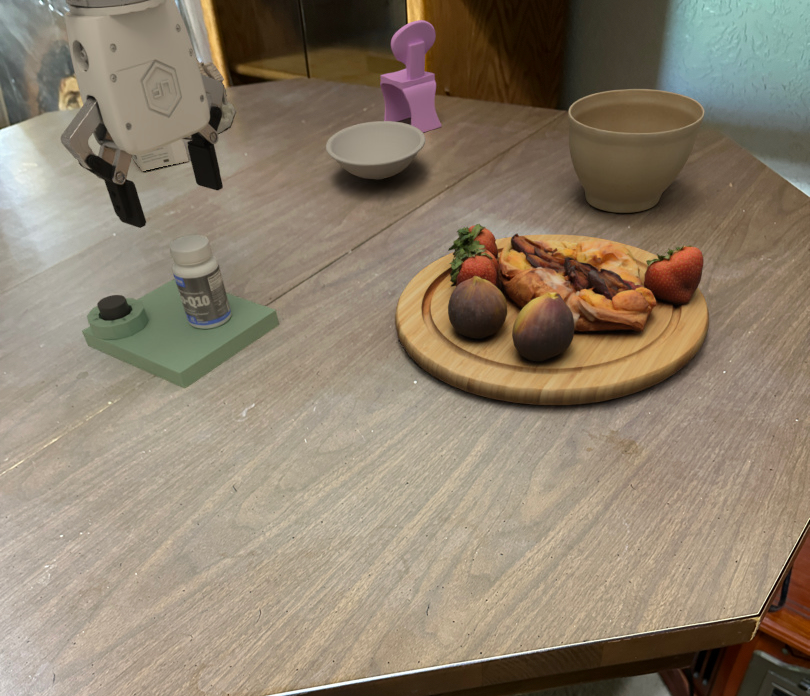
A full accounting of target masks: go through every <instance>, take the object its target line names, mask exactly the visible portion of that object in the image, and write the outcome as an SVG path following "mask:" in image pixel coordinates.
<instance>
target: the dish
mask: <svg viewBox="0 0 810 696" xmlns="http://www.w3.org/2000/svg"><path fill="white" fill-rule="evenodd" d="M425 144H426V136H425V134H424V132H422V131H421V130H419V129H418V128H416V127H414V126H412V125H411V124H408V123H404V122H400V121H397V122H392V121H384V120H381V121H380V120H379V121H378V120H377V121H368V122H362V123H357V124H354V125H350V126H347V127H345V128H343V129H340V130H339V131H337V132H335V133H333V135H331V136H330V137H329V138H328V140H327V141H326V144H325V150H326V153H327V155H329V157H330V158H332V159H333V160H335V161H336V163H338V165H340V166H341V168H342V169H344V170H345V171H347V173H350V174H352V175H353V176H356V177H358V178H362V179H368V180H383V179H386V178H390V177H393V176H395V175H397V174H399V173H401V172H402V171H404V170H405V169H406V168H407V167H408V166H410V164H411V163H412V162H413V161H414V160H415V158H416V157H417V155H418V154H419V152H420V151H421V150H422V149H423V148H424V146H425Z"/></svg>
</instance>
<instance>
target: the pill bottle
mask: <svg viewBox="0 0 810 696" xmlns="http://www.w3.org/2000/svg"><path fill="white" fill-rule="evenodd" d="M168 249H169V253H170V257H171V259H172V262H173V263H172V267H171V271H172V275H173V277H174V278H173V279H175V281H176V284H177V287H178V291H179V294H180V297H181V300H182V304H183V307H184V310H185V313H186V316H187V320H188V322H189V324H190V325H191V326H193V327H196V328H200V329H211V328H215V327H218V326H221V325H223V324H224V323H225V322H227V321H228V320H229V319H230V317H231V310H230V306H229V302H228V298H227V294H226V293H227V290H226V287H225V283H224V280H223V279H224V278H223V276H222V271H221V267H220V264H219V260H218V259H217V257H216V256H215V255H213V251H212V250H213V249H212V246H211V244H210V240H209V238H208V237H206V236H205V235H201V234H188V235H187V234H185V235H183V236H180V237H176V238H175V239H173V240H172V241H170V243H169V245H168Z"/></svg>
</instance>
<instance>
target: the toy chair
mask: <svg viewBox="0 0 810 696" xmlns="http://www.w3.org/2000/svg"><path fill="white" fill-rule="evenodd" d="M436 36H437V35H436V29H435V27H434V26H433V24H431V23H430V22H429V21H427V20H424V19H418V20H414V21H411V22H409V23H407V24H405V25H403V26H401V28H399V29H398V30H396V31H395V32H394V34H393V36H392V38H391V40H390V49H391V52H392V54H393V56H394V58H395V59H396V60H397V61H398V62H401V63H402V64H403V65H405V68H403V69H400V70H398V71H394V72H387V73H384V74H380V82H379V86H380V90H381V93H382V96H383V101H384V116H383V121H392V122H400V121H403V120H407V119H410V125H412V126H414V127H416V128H418V129H419V130H421V131H422V132H423V133H426V132H429V131H433V130H436V129H439V128H442V123H441V121H440V119H439V116H438V114H437V111H436V105H435V100H436V92H437V91H436V90H437V82H436V78H435V75H436V74H435V73H433V72H429V71H425V69H426V68H425V66H426V65H425V64H426V54H427V53H428V51H429V50H430V49H431V48H432V47H433V46H434V44H435V43H436V42H435V41H436Z"/></svg>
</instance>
